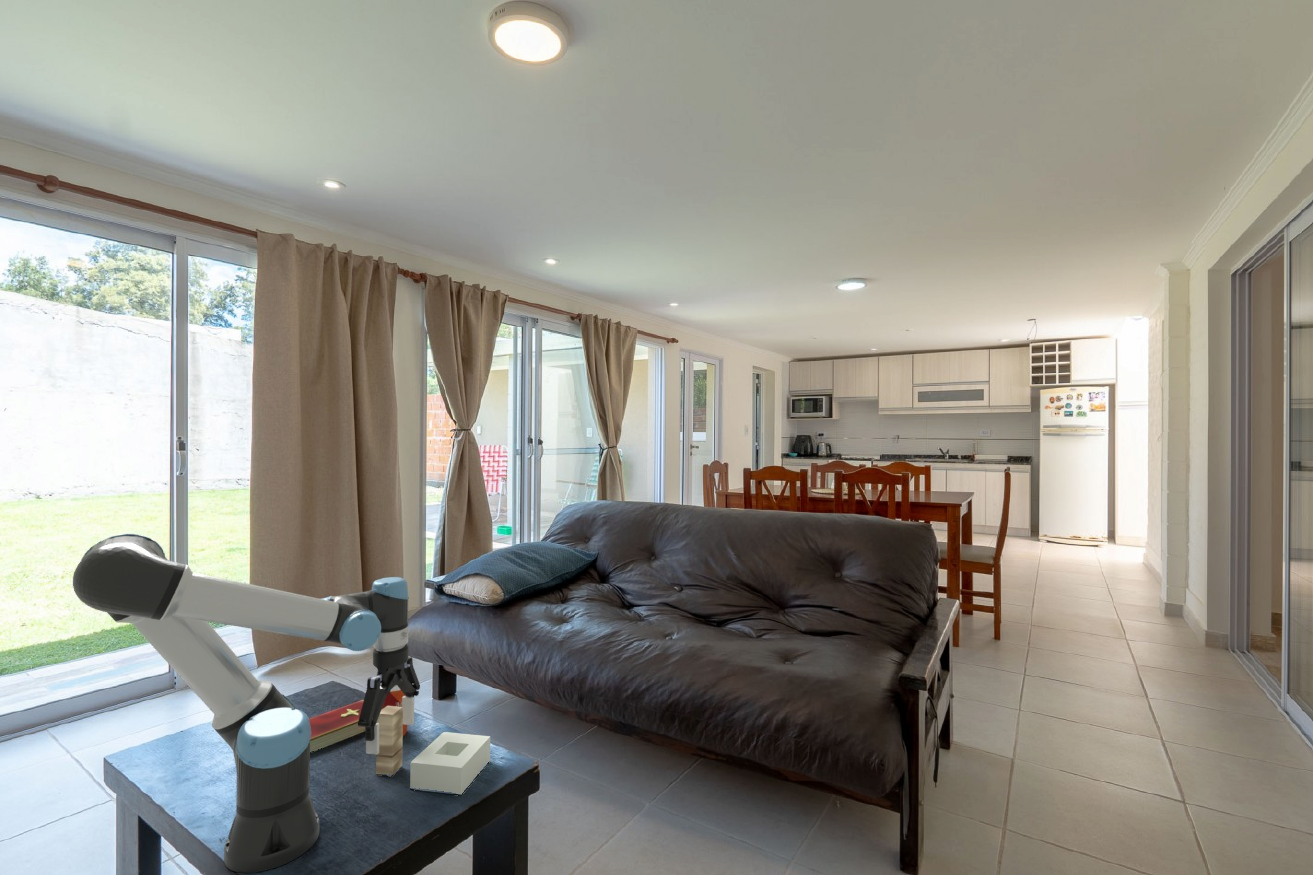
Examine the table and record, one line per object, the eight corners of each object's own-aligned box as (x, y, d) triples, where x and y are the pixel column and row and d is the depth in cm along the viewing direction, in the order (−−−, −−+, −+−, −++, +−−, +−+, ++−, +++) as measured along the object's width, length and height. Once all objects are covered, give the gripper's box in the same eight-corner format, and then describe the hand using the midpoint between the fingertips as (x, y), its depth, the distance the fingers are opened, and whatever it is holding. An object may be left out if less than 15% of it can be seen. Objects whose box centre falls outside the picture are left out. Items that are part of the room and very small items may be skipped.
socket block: (461, 795, 130) (461, 767, 130) (410, 789, 132) (410, 762, 132) (490, 761, 143) (490, 736, 143) (443, 756, 145) (443, 731, 145)
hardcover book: (280, 743, 152) (280, 726, 152) (361, 713, 169) (362, 698, 169) (302, 758, 145) (303, 740, 145) (385, 725, 162) (385, 709, 162)
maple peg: (392, 776, 137) (392, 714, 137) (375, 774, 137) (376, 713, 137) (402, 767, 141) (403, 706, 141) (386, 765, 141) (387, 705, 141)
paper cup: (403, 741, 152) (403, 686, 152) (373, 741, 152) (373, 685, 152) (416, 727, 160) (416, 674, 160) (387, 726, 160) (388, 673, 160)
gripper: (371, 667, 126) (371, 768, 126) (434, 629, 151) (434, 714, 151) (339, 665, 127) (339, 765, 128) (407, 628, 152) (407, 711, 152)
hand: (391, 737), depth 139 cm, fingers open, 13 cm apart
